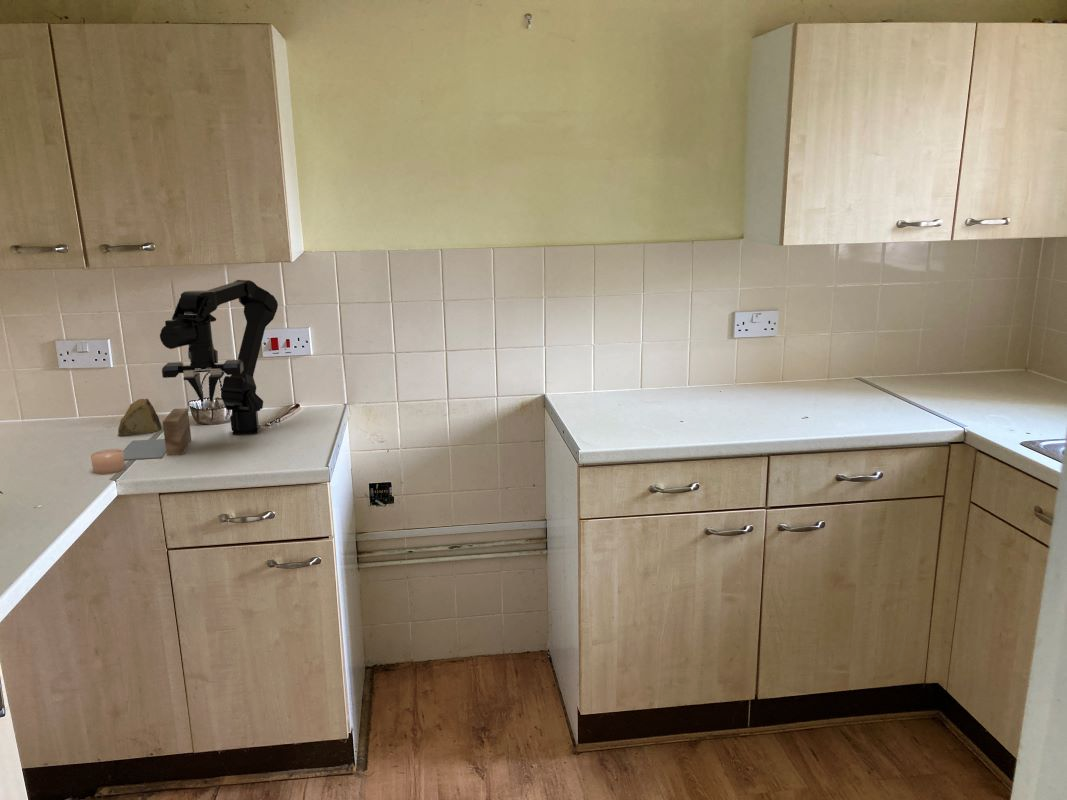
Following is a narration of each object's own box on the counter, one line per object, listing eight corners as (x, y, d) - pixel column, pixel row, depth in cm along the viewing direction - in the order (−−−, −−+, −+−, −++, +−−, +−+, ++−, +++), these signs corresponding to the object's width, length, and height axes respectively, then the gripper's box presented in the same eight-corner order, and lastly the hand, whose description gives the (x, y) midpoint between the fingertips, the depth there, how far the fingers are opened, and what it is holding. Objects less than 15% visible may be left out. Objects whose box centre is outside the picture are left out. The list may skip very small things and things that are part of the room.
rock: (108, 431, 223) (145, 426, 223) (110, 402, 227) (146, 396, 227) (128, 444, 233) (164, 439, 233) (129, 416, 237) (165, 411, 237)
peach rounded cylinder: (128, 463, 205) (126, 448, 204) (120, 473, 199) (118, 457, 198) (98, 465, 204) (96, 450, 203) (88, 475, 197) (86, 459, 196)
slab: (191, 440, 223) (187, 408, 220) (181, 455, 211) (177, 420, 209) (177, 441, 222) (173, 408, 220) (166, 455, 211) (162, 421, 208)
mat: (176, 439, 224) (176, 438, 224) (161, 458, 209) (161, 457, 209) (132, 441, 222) (132, 440, 222) (114, 461, 207) (114, 459, 207)
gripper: (243, 334, 220) (249, 391, 224) (168, 337, 217) (175, 395, 221) (237, 342, 210) (243, 402, 214) (158, 345, 207) (165, 406, 211)
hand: (207, 401), depth 215 cm, fingers closed
